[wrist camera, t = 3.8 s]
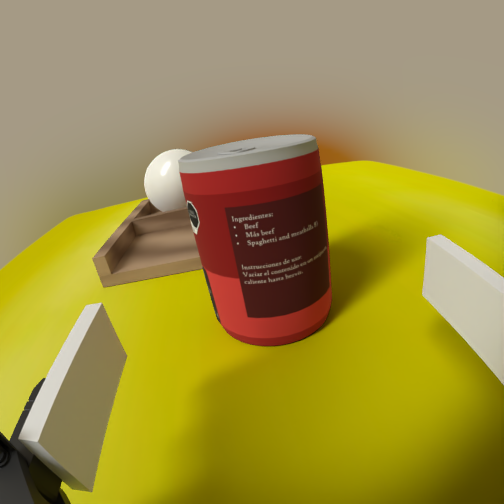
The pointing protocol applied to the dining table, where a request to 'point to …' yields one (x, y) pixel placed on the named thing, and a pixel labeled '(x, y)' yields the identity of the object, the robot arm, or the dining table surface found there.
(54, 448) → the robot arm
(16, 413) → the dining table surface
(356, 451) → the dining table surface
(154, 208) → the walnut tray
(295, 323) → the canned food
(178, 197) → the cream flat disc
